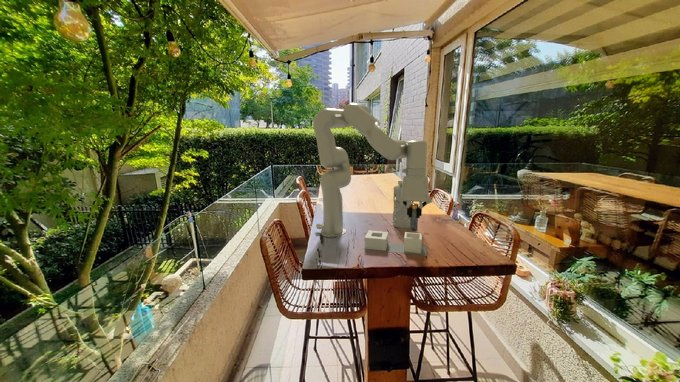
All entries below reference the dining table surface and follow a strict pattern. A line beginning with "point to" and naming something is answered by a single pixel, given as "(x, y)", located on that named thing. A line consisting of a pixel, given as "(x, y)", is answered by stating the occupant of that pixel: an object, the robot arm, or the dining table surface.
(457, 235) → the dining table surface
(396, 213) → the lantern
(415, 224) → the lock pin
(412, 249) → the dock board
